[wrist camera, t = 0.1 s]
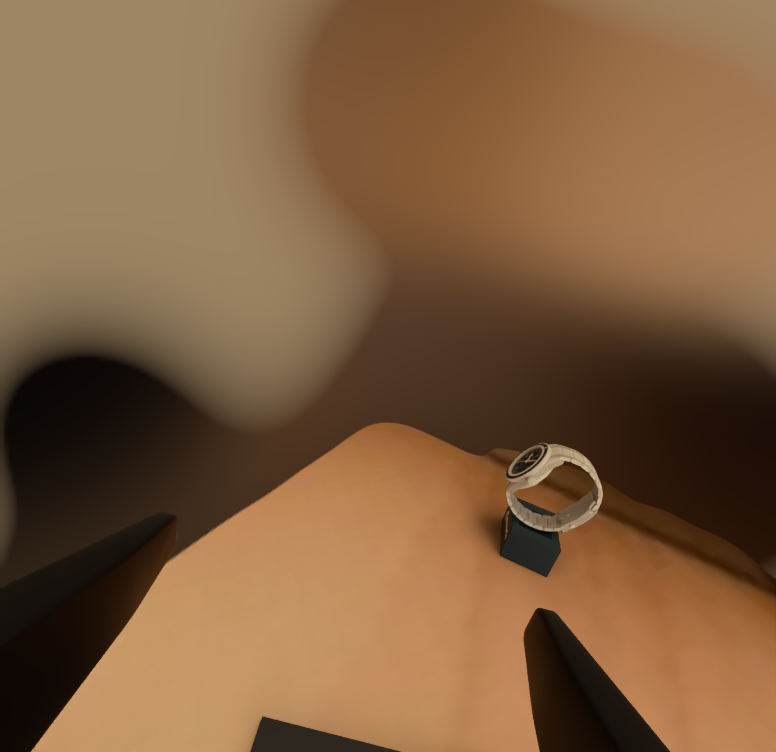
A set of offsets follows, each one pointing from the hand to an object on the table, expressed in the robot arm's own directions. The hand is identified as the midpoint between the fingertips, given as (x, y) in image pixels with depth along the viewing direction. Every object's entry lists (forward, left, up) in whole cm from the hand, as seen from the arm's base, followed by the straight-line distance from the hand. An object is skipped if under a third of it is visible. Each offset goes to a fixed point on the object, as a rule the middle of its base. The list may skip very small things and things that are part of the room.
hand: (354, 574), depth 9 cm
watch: (+23, -17, -17) cm, 33 cm away
